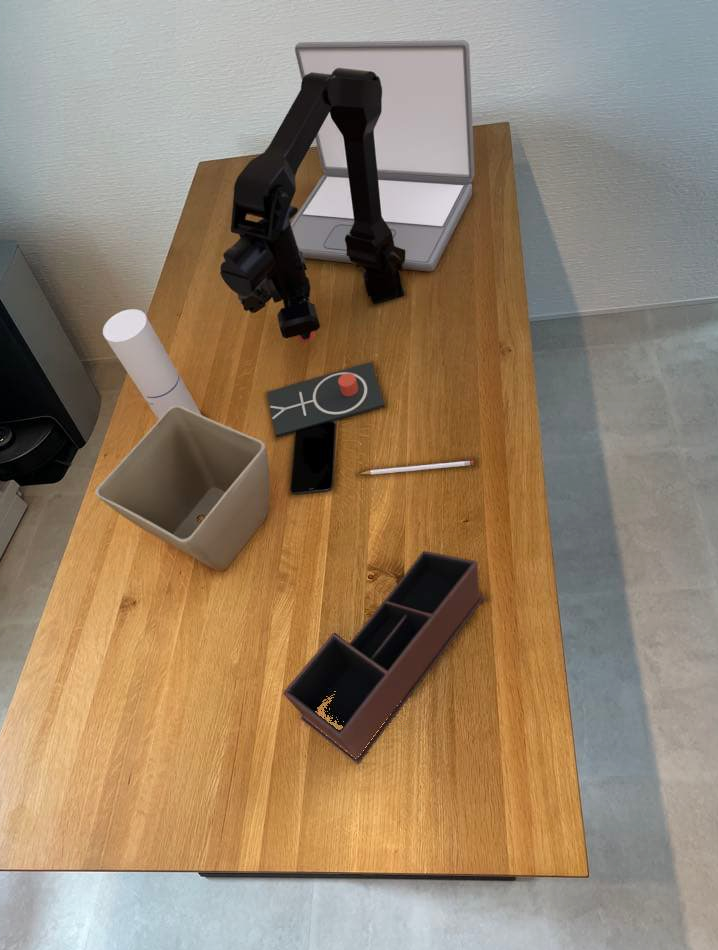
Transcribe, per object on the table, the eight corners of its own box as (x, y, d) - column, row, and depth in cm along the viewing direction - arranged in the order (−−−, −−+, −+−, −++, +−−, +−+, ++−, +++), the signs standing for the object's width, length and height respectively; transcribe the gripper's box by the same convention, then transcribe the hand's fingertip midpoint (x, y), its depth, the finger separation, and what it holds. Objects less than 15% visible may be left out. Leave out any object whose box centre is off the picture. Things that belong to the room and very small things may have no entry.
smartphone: (296, 427, 122) (290, 496, 114) (295, 424, 121) (289, 493, 113) (337, 423, 121) (333, 492, 113) (336, 420, 120) (332, 489, 112)
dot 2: (356, 381, 123) (353, 371, 121) (360, 393, 121) (357, 383, 119) (339, 386, 123) (336, 376, 121) (342, 398, 122) (339, 388, 120)
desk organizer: (300, 719, 93) (277, 693, 84) (426, 563, 102) (418, 523, 93) (358, 766, 89) (340, 744, 79) (485, 598, 98) (483, 560, 88)
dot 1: (313, 328, 120) (310, 317, 118) (316, 340, 119) (312, 328, 116) (295, 333, 120) (292, 321, 118) (298, 344, 119) (294, 333, 117)
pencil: (474, 465, 110) (474, 463, 110) (360, 476, 113) (360, 474, 113) (473, 462, 111) (473, 459, 110) (361, 472, 114) (360, 470, 113)
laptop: (277, 257, 148) (232, 120, 124) (328, 179, 160) (296, 40, 135) (432, 275, 135) (416, 126, 111) (476, 189, 147) (470, 38, 123)
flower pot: (297, 506, 112) (267, 442, 98) (228, 598, 106) (185, 543, 91) (212, 467, 120) (173, 402, 106) (143, 550, 114) (91, 493, 99)
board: (371, 364, 126) (370, 361, 125) (384, 407, 120) (383, 403, 119) (268, 394, 127) (266, 391, 126) (276, 438, 121) (274, 434, 120)
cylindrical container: (199, 445, 123) (136, 341, 102) (164, 444, 125) (95, 341, 104) (211, 415, 127) (152, 308, 106) (176, 414, 129) (112, 309, 108)
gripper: (226, 233, 111) (255, 310, 124) (235, 305, 101) (266, 381, 114) (292, 215, 110) (314, 294, 124) (308, 285, 100) (330, 363, 113)
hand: (305, 332), depth 119 cm, fingers closed on dot 1, 3 cm apart
